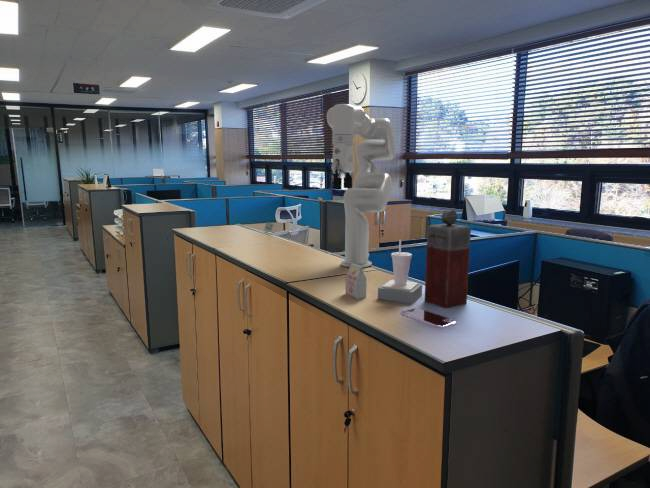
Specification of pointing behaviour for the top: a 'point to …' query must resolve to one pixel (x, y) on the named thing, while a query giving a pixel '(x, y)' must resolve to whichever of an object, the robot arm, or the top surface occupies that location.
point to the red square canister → (447, 262)
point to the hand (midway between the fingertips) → (342, 188)
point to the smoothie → (401, 266)
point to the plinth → (400, 292)
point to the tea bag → (356, 282)
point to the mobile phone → (429, 318)
